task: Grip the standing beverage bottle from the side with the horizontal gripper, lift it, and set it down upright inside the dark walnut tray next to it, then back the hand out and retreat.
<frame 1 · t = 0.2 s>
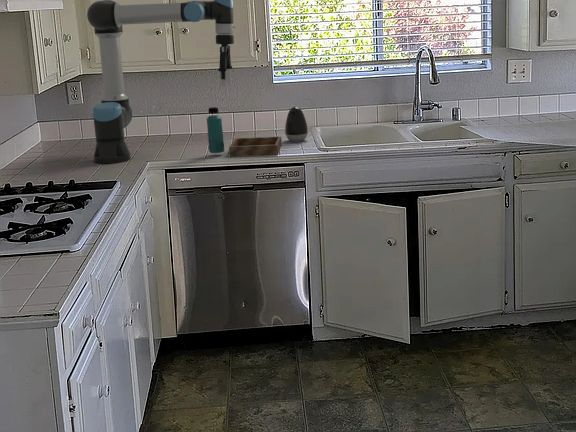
hand: (225, 86, 364), 27 cm above the worktop, tool pointing down, fingers open, 13 cm apart
beverage bottle: (217, 155, 361), on the worktop
walnut tray: (256, 150, 365), on the worktop
egg on grey base: (296, 141, 383), on the worktop
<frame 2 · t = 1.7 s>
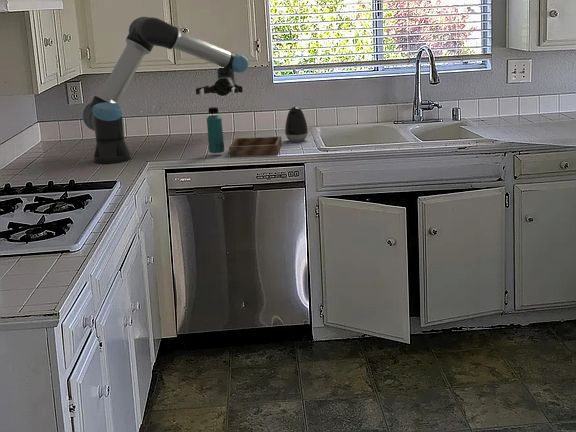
hand: (216, 92, 364), 25 cm above the worktop, tool horizontal, fingers open, 13 cm apart
nothing on the worktop moved.
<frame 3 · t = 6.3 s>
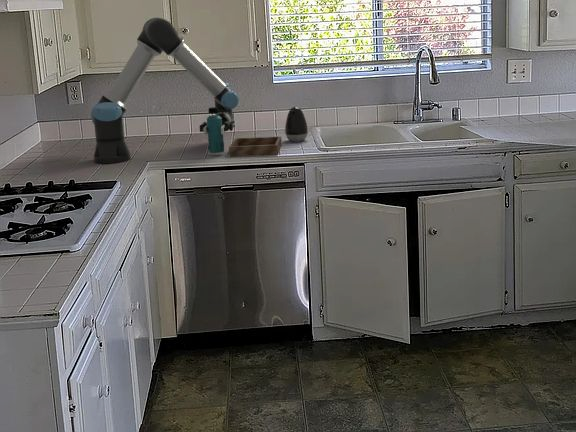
hand: (213, 131, 353), 11 cm above the worktop, tool horizontal, fingers closed on beverage bottle, 6 cm apart
beverage bottle: (216, 155, 361), on the worktop, touching gripper
everything else where it was.
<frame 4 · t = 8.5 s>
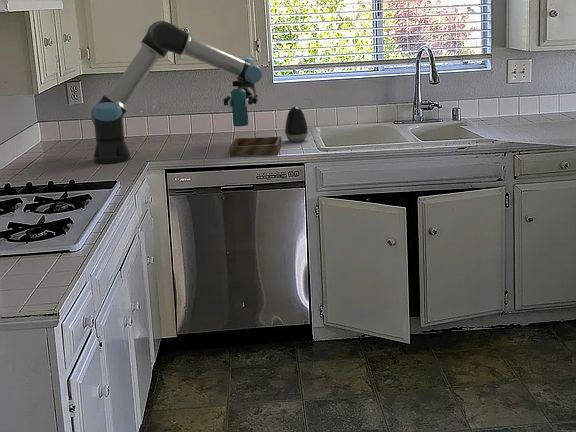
hand: (237, 104, 353), 21 cm above the worktop, tool horizontal, fingers closed on beverage bottle, 6 cm apart
beverage bottle: (241, 129, 361), point 10 cm above the worktop, touching gripper
everything else where it was.
when the fingers open (13 cm above the worktop, at t = 11.1 s): beverage bottle stays where it is, resting on walnut tray.
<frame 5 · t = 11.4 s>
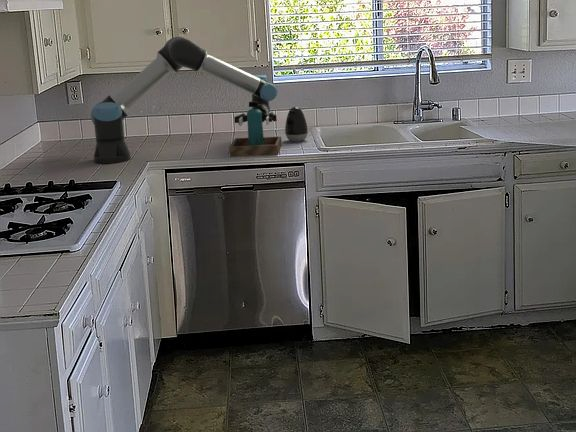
hand: (253, 122, 358), 13 cm above the worktop, tool horizontal, fingers open, 10 cm apart
beverage bottle: (256, 149, 365), point 1 cm above the worktop, touching walnut tray
everything else where it was.
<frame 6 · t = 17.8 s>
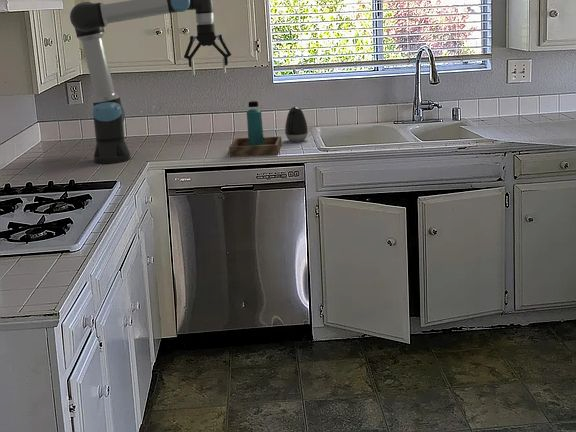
hand: (209, 74, 372), 32 cm above the worktop, tool pointing down, fingers open, 13 cm apart
nothing on the worktop moved.
at the end: beverage bottle inside the target area on the walnut tray (0.1 cm from its centre), point 0.8 cm above the walnut tray's base; beverage bottle tilted 0°; the gripper is holding nothing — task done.
